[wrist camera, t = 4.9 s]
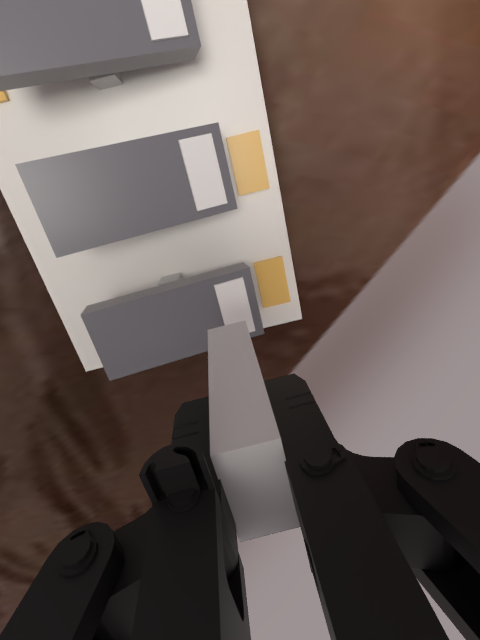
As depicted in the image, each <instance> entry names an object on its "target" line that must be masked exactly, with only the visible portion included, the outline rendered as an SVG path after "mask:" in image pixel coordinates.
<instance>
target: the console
mask: <svg viewBox="0 0 480 640" xmlns="http://www.w3.org/2000/svg"><path fill="white" fill-rule="evenodd" d="M191 2H192V6H193V11H194V15H195V20H196V24H197V29H198V33H199V38H200V42H201V47H200V49H199V51H198V53H197V55H196V57H195V59H194V60H192V61H186V62H180V63H174V64H168V65H161V66H155V67H149V68H143V69H136V70H130V71H124V72H118V73H111V74H105V75H99V76H93V77H86V78H80V79H74V80H68V81H61V82H55V83H49V84H43V85H36V86H30V87H24V88H18V89H11V90H5V91H0V189H1V192H2V194H3V196H4V198H5V200H6V202H7V204H8V207H9V209H10V211H11V213H12V215H13V217H14V219H15V221H16V224H17V226H18V228H19V230H20V232H21V234H22V236H23V238H24V241H25V243H26V245H27V247H28V249H29V251H30V253H31V255H32V258H33V260H34V262H35V264H36V266H37V268H38V270H39V273H40V275H41V277H42V279H43V281H44V283H45V285H46V287H47V290H48V292H49V294H50V296H51V298H52V300H53V302H54V304H55V307H56V309H57V311H58V313H59V315H60V317H61V319H62V322H63V324H64V326H65V328H66V330H67V332H68V334H69V336H70V339H71V341H72V343H73V345H74V347H75V349H76V351H77V353H78V356H79V358H80V360H81V362H82V364H83V366H84V368H85V371H90V370H94V369H98V368H102V367H103V365H102V363H101V360H100V358H99V356H98V354H97V351H96V349H95V347H94V345H93V342H92V340H91V338H90V336H89V333H88V331H87V329H86V327H85V324H84V322H83V320H82V318H81V313H82V312H83V311H84V309H85V308H86V306H88V305H91V304H95V303H98V302H102V301H106V300H109V299H113V298H116V297H120V296H123V295H127V294H131V293H134V292H138V291H141V290H145V289H149V288H152V287H156V286H159V285H163V284H166V283H170V282H174V281H177V280H181V279H184V278H188V277H191V276H195V275H199V274H202V273H206V272H209V271H213V270H217V269H220V268H224V267H227V266H231V265H234V264H238V263H242V262H244V263H245V264H246V265H247V266H249V267H250V271H251V275H252V280H253V284H254V289H255V293H256V298H257V302H258V307H259V311H260V316H261V320H262V324H263V328H266V327H271V326H275V325H279V324H283V323H287V322H291V321H295V320H299V319H302V314H301V309H300V303H299V297H298V291H297V286H296V280H295V274H294V269H293V263H292V257H291V251H290V246H289V240H288V234H287V228H286V223H285V217H284V211H283V205H282V200H281V194H280V188H279V182H278V177H277V171H276V165H275V159H274V154H273V148H272V142H271V136H270V131H269V125H268V119H267V113H266V108H265V102H264V96H263V90H262V85H261V79H260V73H259V67H258V62H257V56H256V50H255V44H254V39H253V33H252V27H251V22H250V16H249V10H248V4H247V0H191ZM217 122H218V123H219V127H220V132H221V136H222V141H223V145H224V150H225V154H226V159H227V163H228V168H229V172H230V177H231V181H232V186H233V190H234V195H235V199H236V204H237V208H238V209H235V210H231V211H227V212H224V213H220V214H216V215H213V216H209V217H205V218H202V219H198V220H194V221H191V222H187V223H183V224H180V225H176V226H172V227H169V228H165V229H161V230H158V231H154V232H150V233H147V234H143V235H139V236H136V237H132V238H128V239H125V240H121V241H117V242H114V243H110V244H106V245H102V246H99V247H95V248H91V249H88V250H84V251H80V252H77V253H73V254H69V255H66V256H62V257H58V258H56V256H55V254H54V251H53V249H52V247H51V245H50V242H49V240H48V238H47V236H46V233H45V231H44V229H43V227H42V224H41V222H40V220H39V218H38V215H37V213H36V211H35V208H34V206H33V204H32V202H31V199H30V197H29V195H28V193H27V190H26V188H25V186H24V184H23V181H22V179H21V177H20V175H19V172H18V170H17V168H16V166H15V164H19V163H24V162H29V161H33V160H38V159H43V158H48V157H53V156H57V155H62V154H67V153H72V152H77V151H82V150H86V149H91V148H96V147H101V146H106V145H111V144H115V143H120V142H125V141H130V140H135V139H140V138H144V137H149V136H154V135H159V134H164V133H169V132H173V131H178V130H183V129H188V128H193V127H198V126H202V125H207V124H212V123H217Z"/></svg>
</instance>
